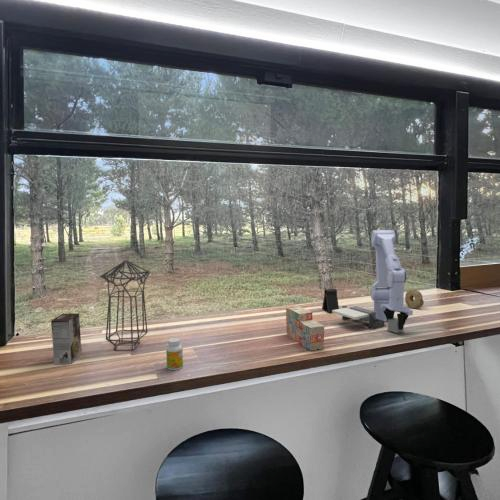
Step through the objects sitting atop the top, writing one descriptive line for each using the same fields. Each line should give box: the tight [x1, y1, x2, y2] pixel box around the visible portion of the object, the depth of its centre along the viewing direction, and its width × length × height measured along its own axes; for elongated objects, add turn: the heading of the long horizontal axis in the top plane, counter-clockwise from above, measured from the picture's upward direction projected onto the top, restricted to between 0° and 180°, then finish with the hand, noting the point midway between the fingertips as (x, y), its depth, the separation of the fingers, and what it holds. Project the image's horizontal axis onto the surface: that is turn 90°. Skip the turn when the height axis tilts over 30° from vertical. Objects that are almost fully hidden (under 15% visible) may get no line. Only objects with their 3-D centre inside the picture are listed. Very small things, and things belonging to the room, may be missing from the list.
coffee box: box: [50, 313, 83, 366], centre depth 125 cm, size 9×6×16 cm
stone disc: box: [404, 289, 425, 309], centre depth 189 cm, size 10×4×10 cm, turn 26°
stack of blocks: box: [285, 305, 325, 352], centre depth 141 cm, size 21×6×12 cm, turn 19°
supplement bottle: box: [165, 337, 184, 371], centre depth 118 cm, size 5×5×10 cm
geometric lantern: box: [99, 260, 151, 352], centre depth 136 cm, size 16×16×35 cm
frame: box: [341, 305, 386, 330], centre depth 164 cm, size 9×18×7 cm, turn 31°
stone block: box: [387, 317, 405, 334], centre depth 150 cm, size 4×4×5 cm
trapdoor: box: [331, 305, 376, 322], centre depth 161 cm, size 15×14×4 cm
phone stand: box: [321, 288, 340, 314], centre depth 186 cm, size 9×6×12 cm, turn 13°
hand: (395, 327), depth 151 cm, fingers closed on stone block, 4 cm apart
